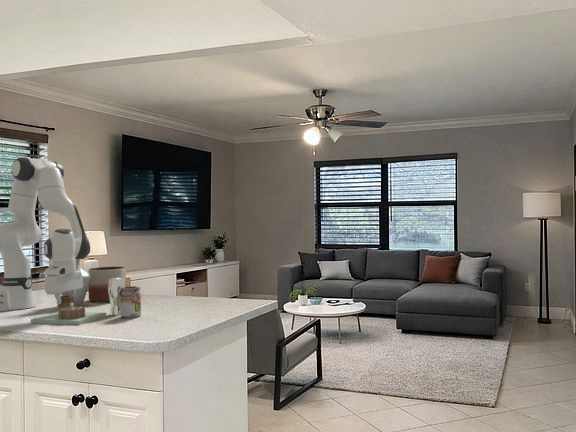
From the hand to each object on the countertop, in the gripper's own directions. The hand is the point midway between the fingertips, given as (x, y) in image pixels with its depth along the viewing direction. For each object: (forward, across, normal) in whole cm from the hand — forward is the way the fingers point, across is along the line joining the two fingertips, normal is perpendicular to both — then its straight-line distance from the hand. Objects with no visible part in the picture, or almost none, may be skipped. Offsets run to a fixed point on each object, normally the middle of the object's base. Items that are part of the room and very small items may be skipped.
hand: (65, 302), depth 232 cm
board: (+6, +4, +4) cm, 8 cm away
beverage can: (+7, -5, +26) cm, 28 cm away
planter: (+6, -45, -10) cm, 47 cm away
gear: (+2, 0, 0) cm, 2 cm away
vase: (+6, -27, -16) cm, 32 cm away
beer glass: (+6, -10, +17) cm, 21 cm away
